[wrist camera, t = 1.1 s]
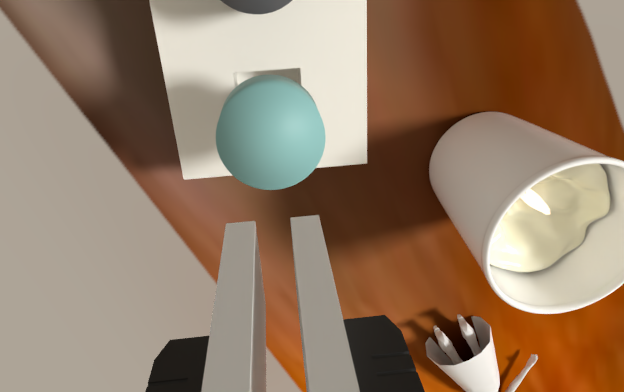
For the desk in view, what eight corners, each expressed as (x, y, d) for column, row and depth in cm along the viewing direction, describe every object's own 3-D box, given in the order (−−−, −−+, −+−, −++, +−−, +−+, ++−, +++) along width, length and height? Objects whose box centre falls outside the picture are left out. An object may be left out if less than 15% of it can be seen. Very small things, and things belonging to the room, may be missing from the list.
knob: (220, 63, 27) (207, 89, 21) (309, 56, 27) (323, 81, 21) (231, 148, 29) (223, 194, 23) (314, 141, 29) (327, 184, 23)
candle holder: (565, 123, 35) (699, 188, 24) (502, 230, 39) (595, 329, 28) (453, 82, 33) (545, 134, 22) (398, 201, 37) (454, 295, 26)
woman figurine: (524, 312, 37) (572, 423, 46) (498, 277, 41) (547, 385, 50) (395, 373, 39) (465, 469, 47) (381, 334, 43) (448, 429, 51)
